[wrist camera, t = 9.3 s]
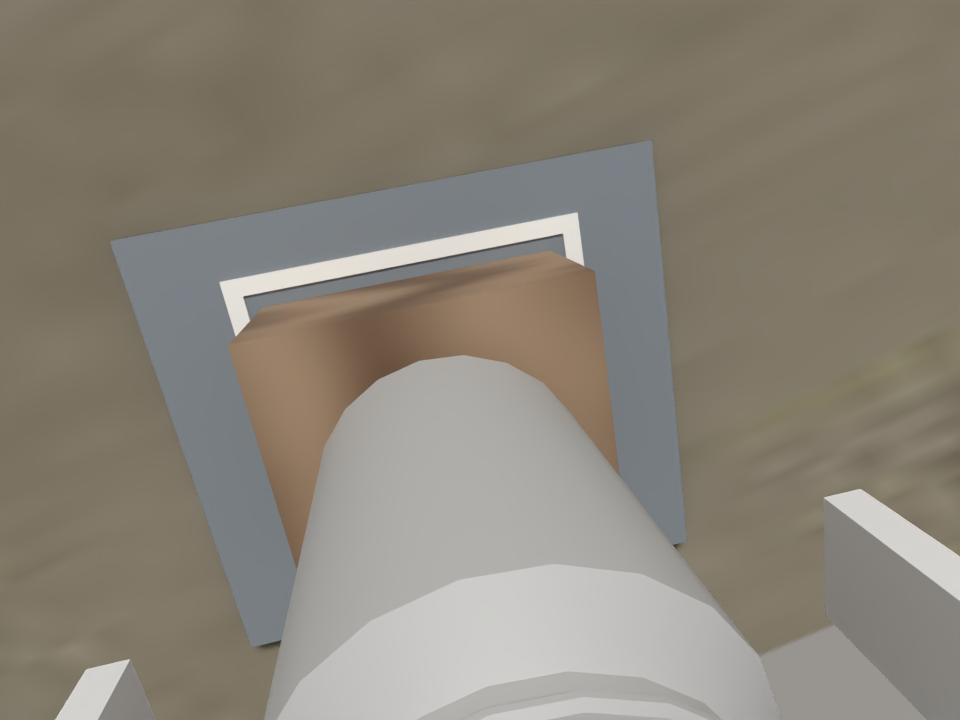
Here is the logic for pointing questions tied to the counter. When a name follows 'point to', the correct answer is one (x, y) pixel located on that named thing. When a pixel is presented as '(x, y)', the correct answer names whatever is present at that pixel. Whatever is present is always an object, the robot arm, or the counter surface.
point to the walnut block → (415, 355)
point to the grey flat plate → (386, 258)
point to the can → (494, 572)
